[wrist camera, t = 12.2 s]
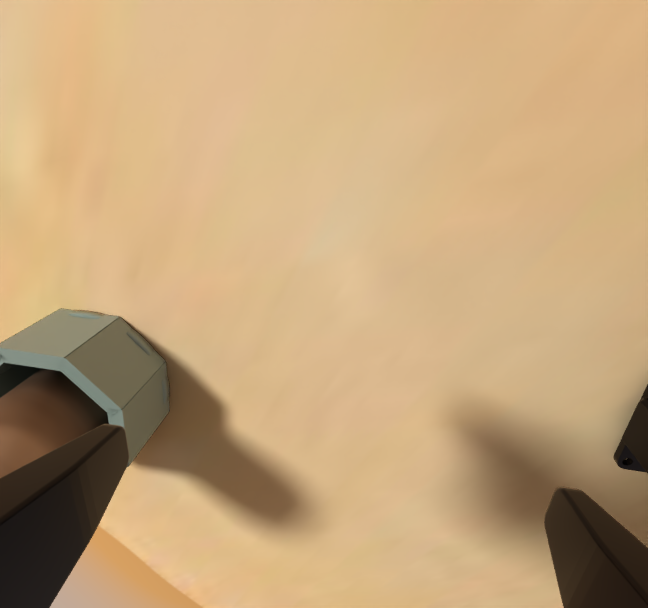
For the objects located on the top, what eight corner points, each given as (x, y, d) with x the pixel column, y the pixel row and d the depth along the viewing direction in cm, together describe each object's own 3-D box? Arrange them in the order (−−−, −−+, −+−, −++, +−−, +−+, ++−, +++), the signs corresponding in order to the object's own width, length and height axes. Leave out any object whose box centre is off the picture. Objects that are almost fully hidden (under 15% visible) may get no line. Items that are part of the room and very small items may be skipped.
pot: (164, 321, 23) (117, 363, 19) (173, 444, 27) (136, 502, 23) (17, 300, 24) (-59, 337, 20) (45, 423, 28) (-14, 475, 23)
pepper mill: (102, 332, 23) (-185, 548, 12) (153, 405, 25) (-53, 660, 13) (36, 361, 25) (-282, 579, 13) (87, 428, 26) (-152, 677, 15)
